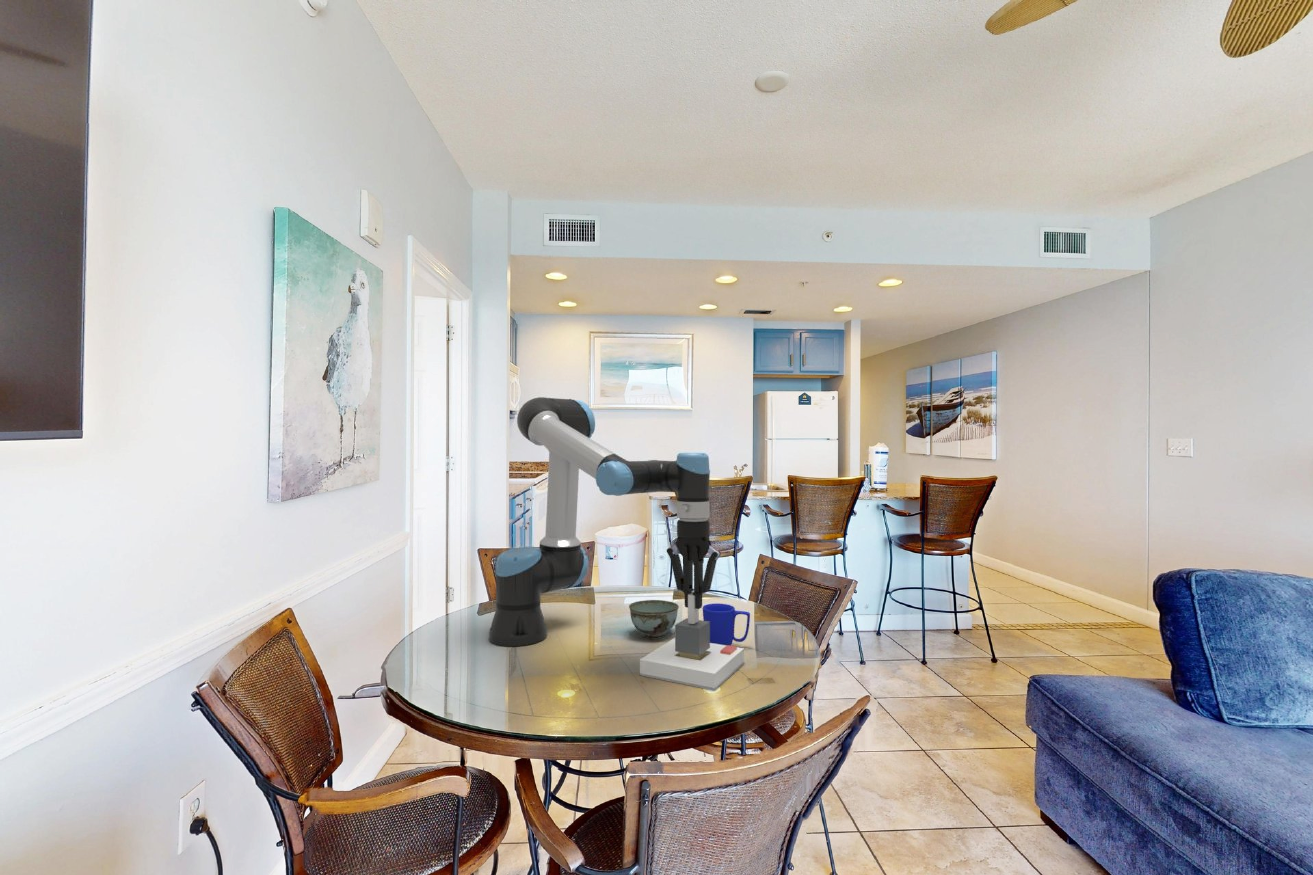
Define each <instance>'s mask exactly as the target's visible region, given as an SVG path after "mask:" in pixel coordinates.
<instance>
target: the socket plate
mask: <svg viewBox="0 0 1313 875" xmlns="http://www.w3.org/2000/svg"><path fill="white" fill-rule="evenodd" d="M744 664H745V648H744V647H738V646H734V645H731V646H730V645H727V646H726V645H720V644H714V643H710V648H709V649H707V650H706V657H705V658H703V659H702V660H701V661H700V660H694V659H689V658H683V657H680V652H676V651H675V637H674V638H672V639H670V640H669V641H668V642H665V643H664V644H663V645H661V646H659V647H657V648H656V649H655V650H652V652H649V653H648V654H646V655H644V657H642V658H640V659H639V676H642V677H647V678H652V679H656V680H661V681H666V682H672V683H676V684H679V685H680V684H681V685H686V686H692V687H695V688H701V689H705V690H711V691H716V690H717V689H718V688H719V687H720V686H722V685H723V683H725V681H727V679H729V678H730V677H731V676H732V675H733V674H735V672H736V671H738V670H739V669H740V668H741V667H742V666H744Z"/></svg>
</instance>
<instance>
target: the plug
mask: <svg viewBox="0 0 1313 875" xmlns="http://www.w3.org/2000/svg"><path fill="white" fill-rule="evenodd" d="M674 626H675V630H674V638H675V651H676V652H680V657H683V658H689V659H694V660H700V661H701V660H702V659H703V658H705V657H706V650H707V649H709V648H710V622H709V621H703V619H699V621H698V622H697V623H695V624H690V623H688V617H687V618H686V617H685V618H684V619H682V620H681V621H679V622H678V623H675V624H674Z"/></svg>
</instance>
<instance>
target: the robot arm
mask: <svg viewBox="0 0 1313 875" xmlns="http://www.w3.org/2000/svg"><path fill="white" fill-rule="evenodd" d="M516 419H517V420H516V423H517V428H518V431H519V432H520V434H522V436H523V437H524V438H525V439H527V440H528V441H530V442H531V443H532V444H534V445H536V446H539V447H542V446H544V447H545V449H546V450H547V451H548V452H549V453H548V470H547V472H548V474H547V492H546V493H547V496H546V513H545V514H546V516H545V518H546V519H545V535H544V537H543V538H542V539H541V540H539V547H537V546H523V547H519V546H518V547H515V548H510V549H508V550H505V551H502V552H501V553H500V554H499V555H498V557H497V559H496V565H495V575H496V576H495V577H496V578H495V579H496V580H495V601H496V602H495V612H494V615H493V619H492V621H491V626H490V627H489V632H488V640H489V642H490V643H492V644H494V645H498V646H503V647H521V646H528V645H533V644H536V643H540V642H542V641H544V640H545V639H547V637H548V626H547V624H546V622H545V618H544V615H543V612H542V609H541V595H542V594H546V593H551V592H555V591H560V590H561V591H562V590H567V589H570V588H572V587H576V586H578V585H579V584H581V583H582V582H583V580H585V578H586V576H587V574H588V570H589V557H588V555H586V554H587V551H586V550H585V549H584V548H583V547H582V546H581V544H582V543H581V542H582V541H580V539H579V538H578V537H577V535H576V534H577V521H578V520H577V517H578V498H579V497H578V496H579V495H578V494H579V479H580V478H579V474H580V471H582V472H584V473H585V474H587V475H589V476H590V477H592V478H594V479H595V483H596V486H597V487H598V489H599V491H600V492H601V493H602V494H603V495H606V496H616V497H617V496H618V497H619V496H626V495H633V494H648V493H660V492H661V493H676V517H677V518H678V520H677V521H676V535H677V539H676V541H675V544H674V545H673V546H671V547H669V548H666V553H667V555H668V557H669V559H670V563H671V567H672V572H673V577H674V583H675V585H676V586H675V587H676V589H677V591H681V592H683V594H684V607H685V608H687V618H688V623H690V624H695V623H697V622H698V621H699V620H700V616H699V615H700V613H699V612H700V609H701V608H703V594H706V593H707V592H710V590H711V588H712V583H713V578H714V574H715V569H716V565H717V561H718V559H719V557H720V556H721V554H722V552H721V551H720V550H716V549H714V547H713V546H712V543H711V541H710V531H711V530H710V526H711V525H710V521H709V520H708V519H710V474H711V469H710V458H709V455H708V454H707V452H679V453H677V455H676V460H658V459H648V460H627V459H625V458H623V457H621V456H619V455H618V454H616V453H615V452H613V451H611V450H609V449H608V448H607V447H605V446H603V445H601V444H600V443H598V442H596V441H595V440H593V439H592V438H591V437H592V436H593V434H594V433H595V428H596V419H595V414H594V412H593V410H592V409H591V408H590V406H589V405H588V404H587V403H586V402H584V401H581V400H576V399H572V398H567V399H566V398H555V397H554V398H553V397H552V398H551V397H544V396H543V397H540V396H539V397H535V398H532V399H529V400H528V401H526V402H524V403H523V405H522V406H521V407H520V408H519V411H518V413H517V418H516ZM680 555H681V556H682V561H681V558H680ZM706 555H707V557H708V559H707V564H706V566H705V572H704V562H705V560H704V559H705V557H706ZM682 564H683V566H682ZM682 567H683V568H682Z"/></svg>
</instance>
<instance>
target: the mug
mask: <svg viewBox="0 0 1313 875" xmlns="http://www.w3.org/2000/svg"><path fill="white" fill-rule="evenodd" d="M738 615H744V616H746V619H747V620H746V628H745V631H744V632H745V633H744V635H743V637H741V638H736V637H735V625H736V624H735V622H736V617H737V616H738ZM702 617H703V618H702V621H709V622H710V643H714V644H720V645H726V646H727V645H730V646H733V645H732V644H733V641H735V642H737V643H742V642H744V641H745V640H746V639H747V637H748V634H749V629H750V621H751V613H750V612H749V611H744V610H736V608H735V607H734V606H733V605H732V604H726V603H716V602H715V603H709V604H705V605H702Z"/></svg>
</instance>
